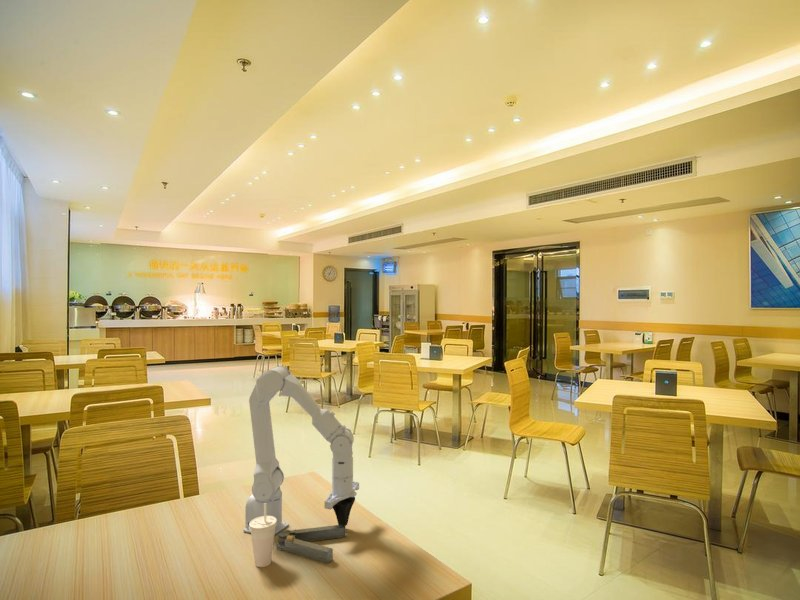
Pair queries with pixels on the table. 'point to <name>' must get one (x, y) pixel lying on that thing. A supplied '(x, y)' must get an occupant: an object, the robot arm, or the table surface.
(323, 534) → the bar
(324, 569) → the table surface
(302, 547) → the tongs base
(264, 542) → the smoothie
